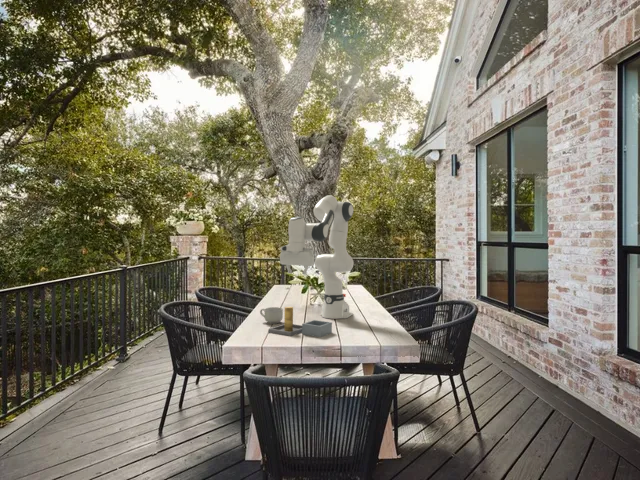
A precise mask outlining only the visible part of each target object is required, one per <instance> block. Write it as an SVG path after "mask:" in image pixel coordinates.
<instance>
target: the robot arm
mask: <svg viewBox="0 0 640 480" xmlns="http://www.w3.org/2000/svg"><path fill="white" fill-rule="evenodd" d="M353 214H354V206H353V204H352V203H351V202H349V201H338V199H337V198H336V197H335V196H333V195H328V194H327V195H325V196H324V197H322V198H321V199H320V200H319V201H318V202H317V203H316V205H314V208H313V215H314V217H315V218H316V219H317V220H318V221H319V222H307V221H305V218H304V217H303V216H294V217H291V218H290V219H289V220H288V228H287V229H288V244H286V245H283V246H281V247H280V251H281V252H280V254H279V263H280V265H284V266H285V268H286V270H287V274H292V273H293V269H291V266H302V267H303V268H304V269H303V270H302V275H307V274H308V273H307V271H308V269H309V268H310V267H313V266H314V265H315V268H316V269H317V270H318V271H319V272H320V274H321V275H322V277H323V282H324V294H323V300H324V301H323V302H322V308H321V312H320V314H319V316H321V317H322V318H324V319H332V320H333V319H335V320H336V319H348V318H349V317H351V316H353V315H354V312H352V311H350V305H349V303H347V301H346V300H345V298H346V297H347V294H346V293H343V287H344V286H343V280H341V279H340V278H339V277H338V276H337V274H336V273H347V272H351V271H352V269H353V267H354V263H355V262H354V259H353V257H352V256H351V255H350V254H349V253H348V250H347V238H348V232H349V231H348V230H349V221H350V219H351V218H352V217H353ZM328 235H329V236H328ZM327 238H328V242H327V243H328V245H329V247H330V248H331V249H332V250H333V251H334V252H333V253H322V254H318V255H317V256H314V255H315V254H314V253H315V252H314V251H315V250H313V248H312V247H306V242H320V243H321V242H324V241H325V240H326V239H327Z"/></svg>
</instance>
